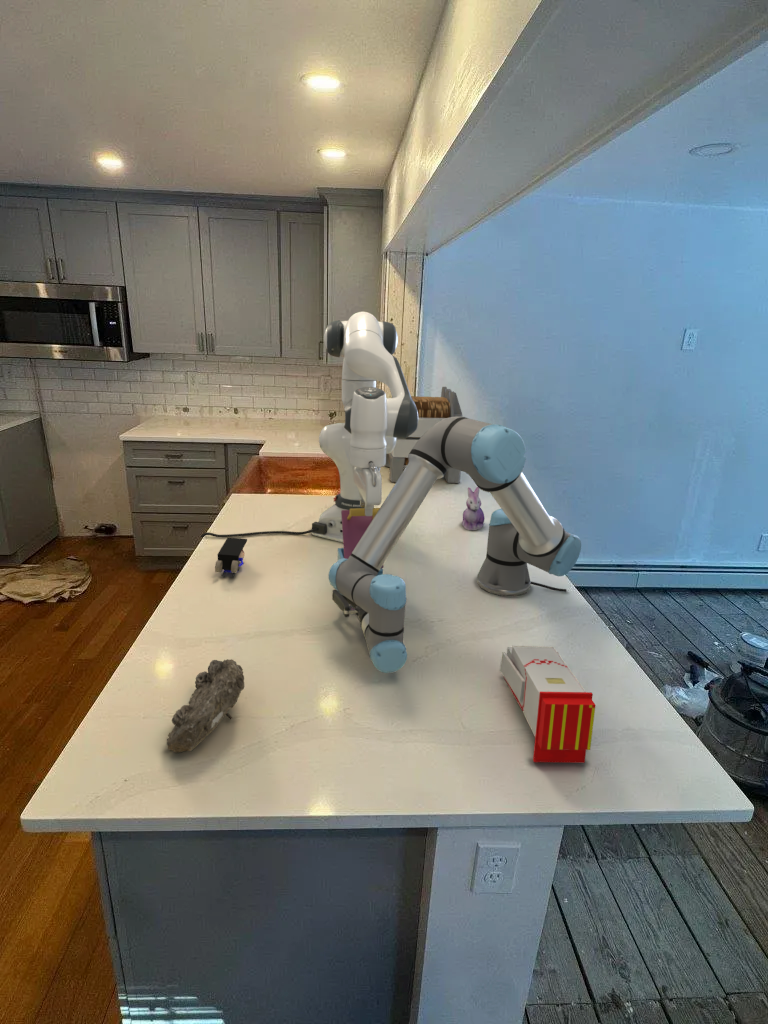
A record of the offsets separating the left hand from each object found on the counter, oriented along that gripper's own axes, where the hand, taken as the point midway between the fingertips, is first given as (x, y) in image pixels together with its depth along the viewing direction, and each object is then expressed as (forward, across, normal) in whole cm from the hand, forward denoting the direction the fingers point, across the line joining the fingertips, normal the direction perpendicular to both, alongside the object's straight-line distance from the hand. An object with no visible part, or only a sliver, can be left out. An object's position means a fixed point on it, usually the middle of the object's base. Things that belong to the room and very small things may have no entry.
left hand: (365, 510), depth 141 cm
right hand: (+21, +4, 0) cm, 21 cm away
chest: (+27, +8, 0) cm, 28 cm away
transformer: (+27, +125, -49) cm, 137 cm away
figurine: (+27, +54, -50) cm, 78 cm away
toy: (+27, -46, -28) cm, 60 cm away
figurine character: (+27, +26, +35) cm, 51 cm away
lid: (+10, +5, 0) cm, 11 cm away
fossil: (+27, -38, +36) cm, 59 cm away
